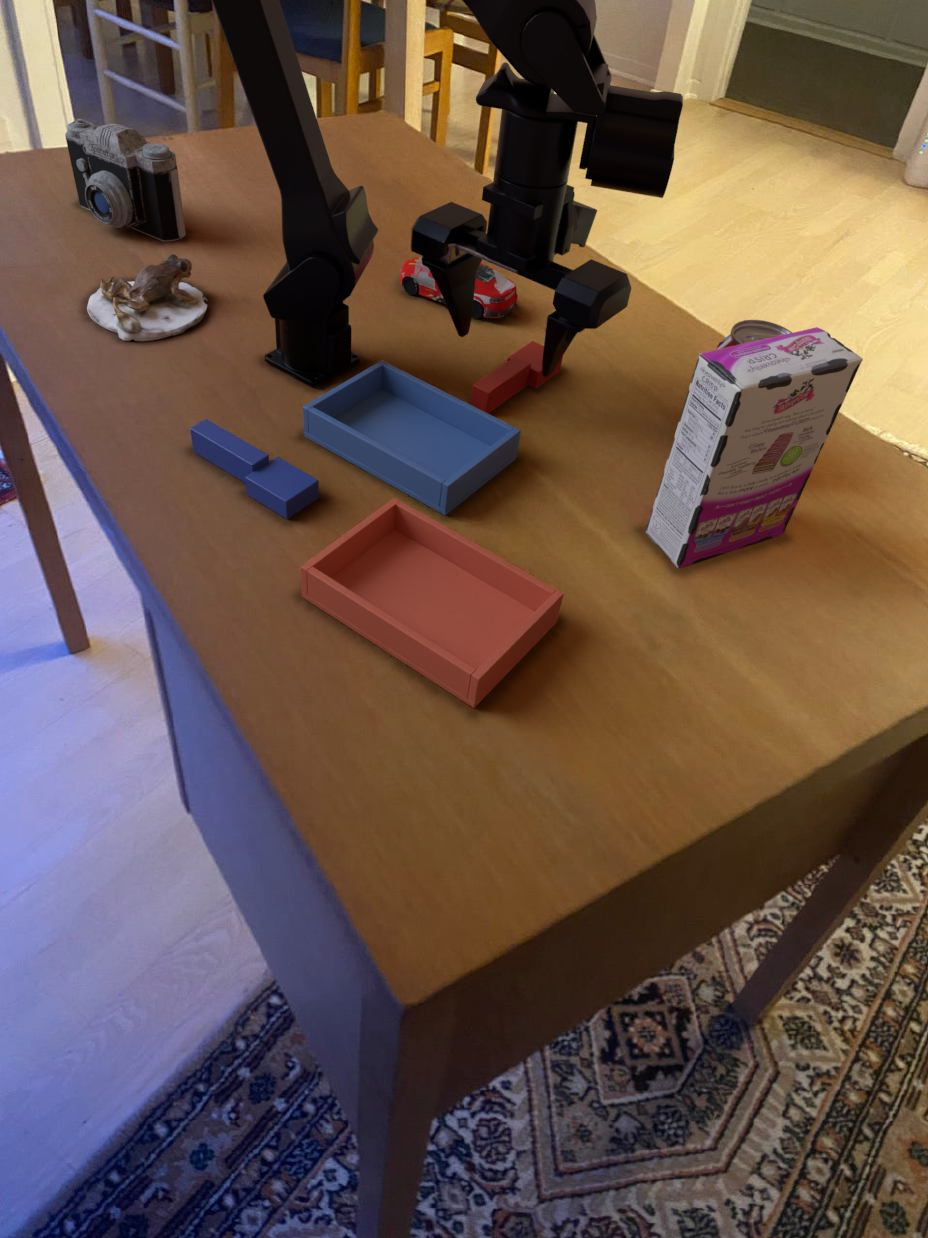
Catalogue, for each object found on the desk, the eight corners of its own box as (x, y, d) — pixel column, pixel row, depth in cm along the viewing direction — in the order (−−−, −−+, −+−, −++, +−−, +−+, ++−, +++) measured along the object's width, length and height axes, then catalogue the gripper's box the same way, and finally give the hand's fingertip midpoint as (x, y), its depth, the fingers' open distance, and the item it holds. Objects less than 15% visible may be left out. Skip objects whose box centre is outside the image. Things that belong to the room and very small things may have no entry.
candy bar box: (745, 500, 76) (819, 323, 65) (784, 537, 74) (869, 358, 62) (638, 531, 72) (697, 348, 60) (675, 572, 69) (744, 388, 57)
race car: (389, 288, 96) (390, 251, 93) (416, 270, 99) (418, 234, 96) (497, 329, 92) (501, 292, 89) (521, 308, 95) (526, 272, 92)
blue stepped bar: (184, 456, 73) (180, 432, 71) (217, 437, 75) (214, 413, 73) (287, 519, 69) (285, 495, 67) (319, 497, 71) (318, 473, 69)
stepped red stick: (493, 419, 81) (496, 396, 79) (461, 403, 82) (464, 380, 80) (560, 371, 88) (564, 348, 86) (529, 356, 89) (533, 334, 87)
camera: (51, 211, 100) (28, 114, 93) (98, 194, 104) (79, 99, 97) (149, 254, 96) (133, 155, 88) (194, 233, 100) (183, 137, 92)
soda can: (758, 489, 78) (811, 366, 69) (680, 473, 78) (723, 349, 69) (756, 444, 82) (805, 324, 74) (683, 430, 83) (723, 308, 74)
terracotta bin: (301, 597, 64) (300, 566, 62) (393, 526, 70) (394, 496, 68) (473, 708, 58) (478, 679, 56) (556, 622, 64) (564, 593, 62)
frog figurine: (158, 266, 94) (152, 230, 91) (235, 311, 89) (231, 274, 87) (60, 301, 87) (51, 263, 85) (138, 351, 83) (130, 312, 80)
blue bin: (303, 436, 76) (302, 406, 74) (380, 388, 83) (381, 359, 80) (445, 516, 71) (448, 486, 69) (516, 459, 77) (521, 430, 75)
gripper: (685, 184, 71) (637, 361, 82) (492, 115, 77) (473, 287, 89) (615, 225, 64) (574, 411, 75) (411, 145, 71) (402, 327, 82)
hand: (504, 354), depth 80 cm, fingers open, 9 cm apart
